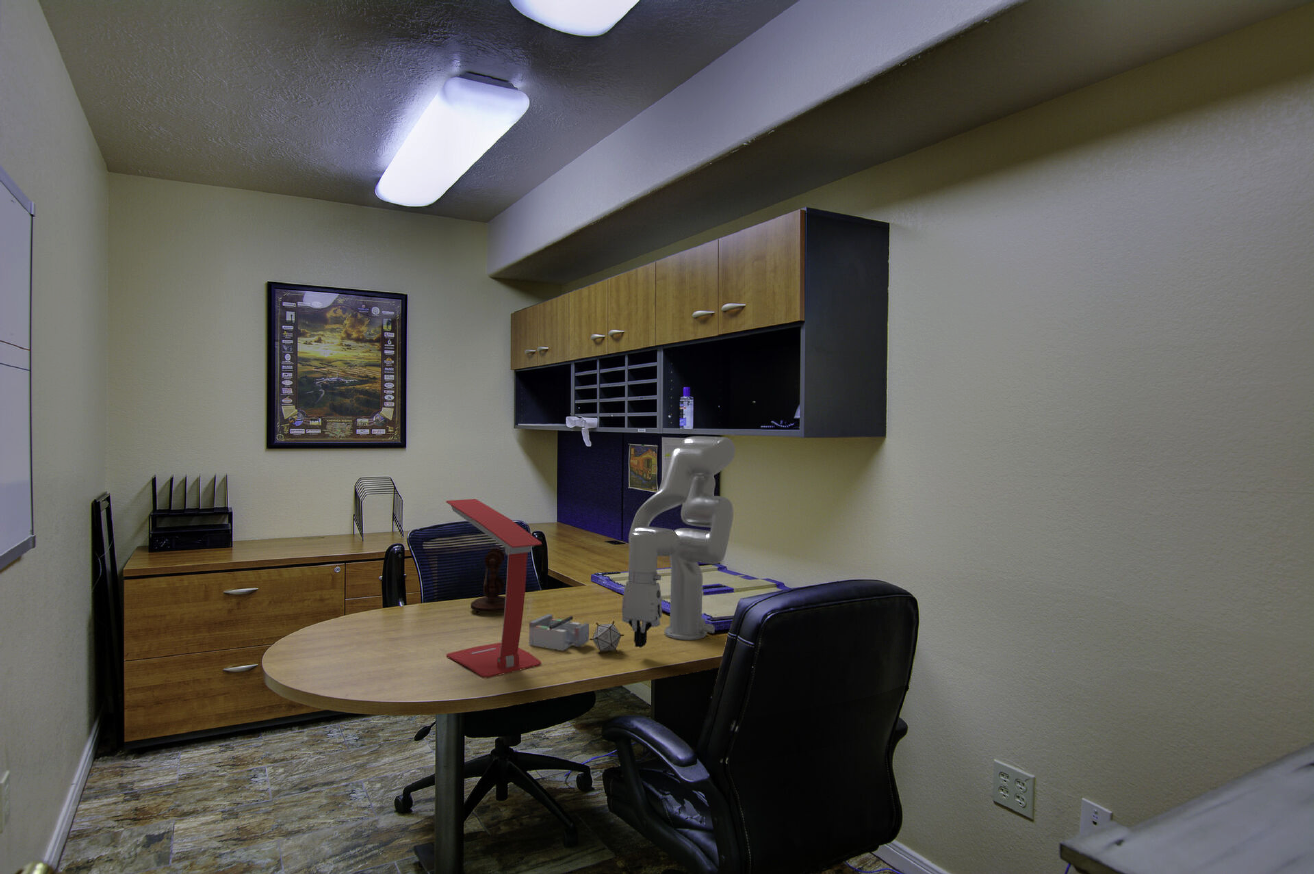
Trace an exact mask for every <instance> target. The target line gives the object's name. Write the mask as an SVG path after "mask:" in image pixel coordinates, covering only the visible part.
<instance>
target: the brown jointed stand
mask: <svg viewBox="0 0 1314 874" xmlns="http://www.w3.org/2000/svg"><path fill="white" fill-rule="evenodd" d="M504 560H505V553H504V552H503V550H502V549H500V548H497V547H495V548H492V549H490V550H489V551H488V553H487V554H486V555H485V557H484V560H483V561H484V565H485V575H484V581H483V588H482V589H483V591H482V592H483V595H484V596H482V597H479V598H477V599H475V600H473V601H472V602H471V603H470V609H471V610H473V611H474V612H475V615H477V614H478V615H479V613H480V612H482V613H499V612H504V610H505V598H506V595H501V593H502V590H503V589H504V586H505V582H504V580H503V579H502V577H501V576H499V575H498V574H499V572H500V567H501V565H502V563H503V562H504ZM488 571H489V572H490V573H489V576H488ZM488 577H489V578H488ZM487 578H488V580H487Z"/></svg>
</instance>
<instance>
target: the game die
mask: <svg viewBox="0 0 1314 874" xmlns="http://www.w3.org/2000/svg"><path fill="white" fill-rule="evenodd" d="M615 623H616V622H615V620H613V621H612V623H603V624H602V623H601V624H599V623H598V622H595V624H596V628H595V631H594V633H593V636H592V638H589V641H590V642H591V641H592V642H593V643H594V644H595V646H596V647H597V649H598V650H599V651H598V655H601V653H602V652H610V651H615V653H618V649H617V648H618V645H619V643H620V640H621V638H622V637H624V636H625V634H621V633H620V631H619V630H618V628H617V627H616V625H615Z"/></svg>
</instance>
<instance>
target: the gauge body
mask: <svg viewBox="0 0 1314 874" xmlns="http://www.w3.org/2000/svg"><path fill="white" fill-rule="evenodd" d="M553 616H554V615H553V614H550V613H547V614H545V615H543V616H540V617H538V618H536V619H533V620H530V621H529V622H528V623H529V628H528V630H529V632H528V633H529V634H528V645H529V646H534V647H539V648H544V647H546V648H545V649H550V650H555V649H557V651H561V650H562V651H565V650H567V649H569V648H571V647H573V646H574V645H575V642H571V641H566V630H560V629H559V626H558V627H556V628H554V629H552V630H549V626H551V625H553V624H555V623H557V622H559V621H562V620H563V619H560V618H554V617H553ZM580 625H582V624H581V622H576V621H571V620H570V621H568V622H566V623H564V624H563V629H568V630H574V631H575V628H576V627H578V626H580ZM573 644H574V645H573ZM570 646H571V647H570ZM568 647H569V648H568ZM564 649H565V650H564Z"/></svg>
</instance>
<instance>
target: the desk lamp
mask: <svg viewBox="0 0 1314 874" xmlns="http://www.w3.org/2000/svg"><path fill="white" fill-rule="evenodd" d="M445 502H446V503H447V504H448V505H450V506H451V507H450V508H451V509H452V511H453V512H454V513H455V514H457V515H458V516H460V517H461V518H462V519H463V520H465V521H467V522H468V523H469V524H470V525H472V526H473V527H475V528H477V529H478V530H479V531H481V532H482V533H484V534H485V535H487V536H488V537H489V538H491V539H493V540H494V541H496V542H497V543H498V544H499V545H501V546H503V547H505V549H504V552H505V554H506V555H507V567H506V585H505V596H506V598H505V610H504V611H503V623H502V632H501V640H500V642H497V643H491V644H490V643H489V644H484V645H479V646H473V647H470V648H466V649H465V648H464V649H461V650H457V651H453V652H448V653H446V658H448V657H449V659H450V660H452V661H454V662H456V663H458V664H460V665H462V666H464V667H466V668H468V669H469V670H471V671H472V672H474V673H476V674H477V675H478V676H480V677H481V678H484V677H489V678H492V677H491V676H493V677H495V676H494V675H498V676H500V675H499V674H502V673H506V674H509V673H508V672H510V673H513V672H512V671H515V672H517V670H519V671H521V670H520V669H523V668H527V669H531V668H530V667H532V668H534V667H533V666H536V667H539V665H540V664H541V665H542V662H541V660H540V659H538V658H537V657H535V656H534V655H533V654H531V653H530V652H529V651H526V650H525V649H522V648H520V647H519V644H520V639H521V638H520V637H521V632H522V624H523V616H524V606H525V598H526V597H525V596H526V585H527V584H526V582H527V567H528V553H530V552H531V551H532V548H533V547H535V546H542V545H543V544H542V541H541V540H539V539H538V538H537V537H534V536H533V534H531V533H529V532H528V531H526V529H525V528H523V527H522V526H520V525H518V524H517V523H516V522H515V521H513V520H512V519H511V518H509V517H507V516H506V515H504V514H502V513H500V512H499V511H498V510H496V509H493V508H492V507H490V506H489V505H487V504H486V503H484V502H482V501H480V500H479V499H476V498H469V499H453V500H452V499H450V500H446V501H445ZM541 665H540V666H541ZM523 670H524V669H523ZM502 675H503V674H502Z"/></svg>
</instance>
